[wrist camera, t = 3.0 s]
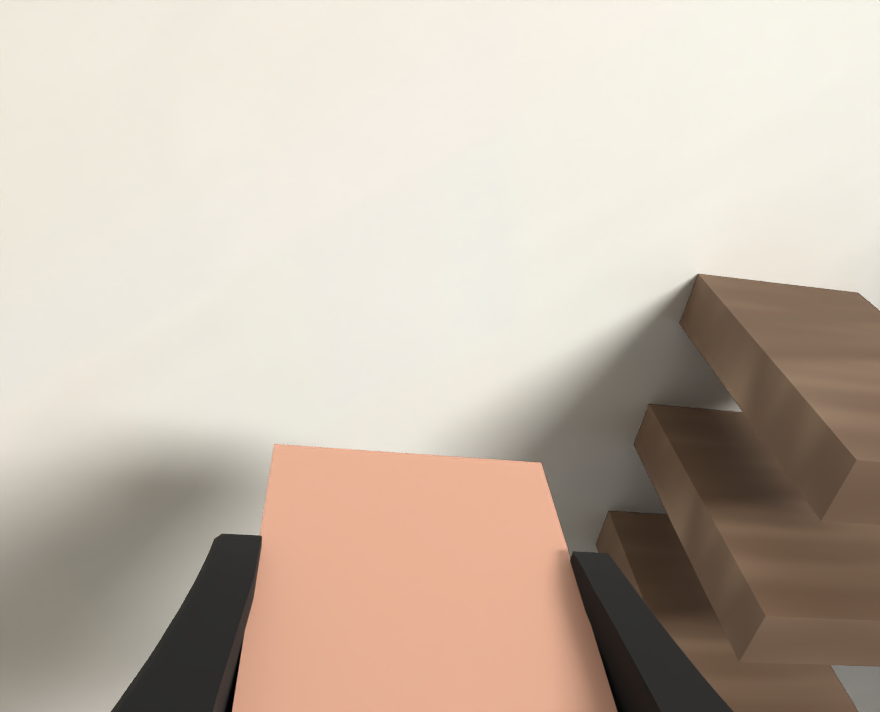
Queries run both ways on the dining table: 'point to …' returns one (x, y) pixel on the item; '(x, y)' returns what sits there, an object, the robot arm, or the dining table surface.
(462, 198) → the dining table surface
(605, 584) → the robot arm
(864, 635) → the domino
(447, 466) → the salmon pink rectangular block
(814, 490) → the domino
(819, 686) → the domino
